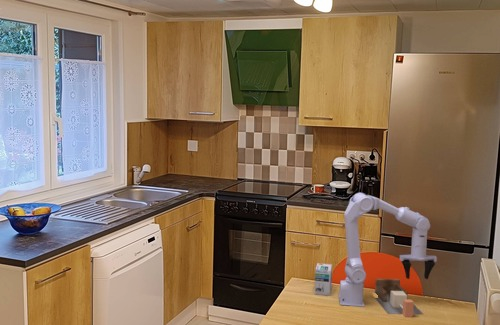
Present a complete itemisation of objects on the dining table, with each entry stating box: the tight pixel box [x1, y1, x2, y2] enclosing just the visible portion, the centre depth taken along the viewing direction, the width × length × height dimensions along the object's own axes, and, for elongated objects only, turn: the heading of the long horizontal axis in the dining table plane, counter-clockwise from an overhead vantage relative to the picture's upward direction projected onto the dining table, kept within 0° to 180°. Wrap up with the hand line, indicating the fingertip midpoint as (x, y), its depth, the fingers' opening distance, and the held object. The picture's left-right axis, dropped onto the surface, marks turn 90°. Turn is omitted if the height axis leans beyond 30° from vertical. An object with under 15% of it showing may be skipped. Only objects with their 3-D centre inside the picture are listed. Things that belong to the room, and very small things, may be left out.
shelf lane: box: [374, 278, 424, 315], centre depth 217 cm, size 14×25×6 cm, turn 3°
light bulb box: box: [314, 262, 333, 296], centre depth 229 cm, size 11×7×11 cm, turn 168°
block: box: [390, 291, 415, 318], centre depth 209 cm, size 5×15×6 cm, turn 3°
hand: (416, 278), depth 217 cm, fingers open, 7 cm apart
